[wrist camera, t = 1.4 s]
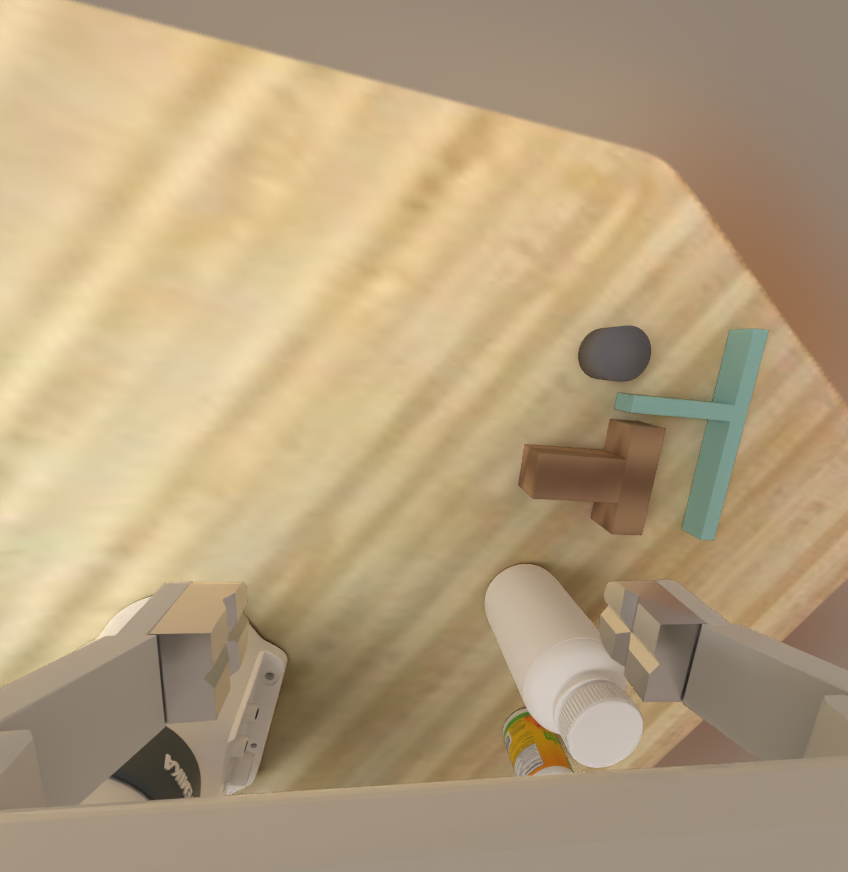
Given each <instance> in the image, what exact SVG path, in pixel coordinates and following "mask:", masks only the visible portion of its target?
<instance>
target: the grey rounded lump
mask: <svg viewBox="0 0 848 872" xmlns="http://www.w3.org/2000/svg"><path fill="white" fill-rule="evenodd" d="M650 356H651V345H650V341H649V339H648V337H647V335H646V334H645V333H644V332H643V331H642V330H641V329H639V328H637V327H635V326H619V327H610V328H601V329H597V330H594V331H592V332H591V333H589V334H588V335H587V336H586V337H585V338H584V340H583V341H582V343H581V345H580V348H579V353H578V359H579V364H580V366H581V368H582V370H583V371H584V373H586V374H587V375H588V376H590V377H592V378H595V379H603V380H612V381H621V382H624V381H629V380H632V379H634V378H636V377H638V376H639V375H640V374H641V373H642V372H643V371H644V370H645V368H646V367H647V365H648V363H649V360H650Z"/></svg>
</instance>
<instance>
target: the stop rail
mask: <svg viewBox="0 0 848 872" xmlns="http://www.w3.org/2000/svg"><path fill="white" fill-rule="evenodd" d="M768 332H769V330H762V329H739V330H730V331H729V336H728V340H727V344H726V348H725V352H724V356H723V360H722V364H721V368H720V373H719V377H718V381H717V385H716V389H715V393H714V397H713V401H712V402H709V401H698V400H688V399H677V398H666V397H656V396H645V395H634V394H624V393H618V394H617V399H616V404H615V409H617V410H622V411H626V412H630V413H641V414H652V415H664V416H676V417H687V418H699V419H708V422H707V426H706V430H705V434H704V438H703V443H702V447H701V451H700V455H699V459H698V463H697V467H696V471H695V475H694V480H693V484H692V488H691V492H690V496H689V500H688V504H687V508H686V513H685V517H684V521H683V525H682V530H684V531H686V532H687V533H689V534H691V535H693V536H694V537H696V538H698V539H700V540H714V538H715V534H716V531H717V527H718V523H719V519H720V515H721V511H722V508H723V504H724V500H725V496H726V492H727V489H728V485H729V481H730V477H731V473H732V469H733V466H734V462H735V458H736V454H737V450H738V447H739V443H740V439H741V435H742V431H743V427H744V424H745V420H746V416H747V412H748V408H749V405H750V401H751V397H752V393H753V389H754V386H755V382H756V378H757V374H758V370H759V366H760V363H761V359H762V355H763V351H764V347H765V344H766V340H767V336H768Z"/></svg>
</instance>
